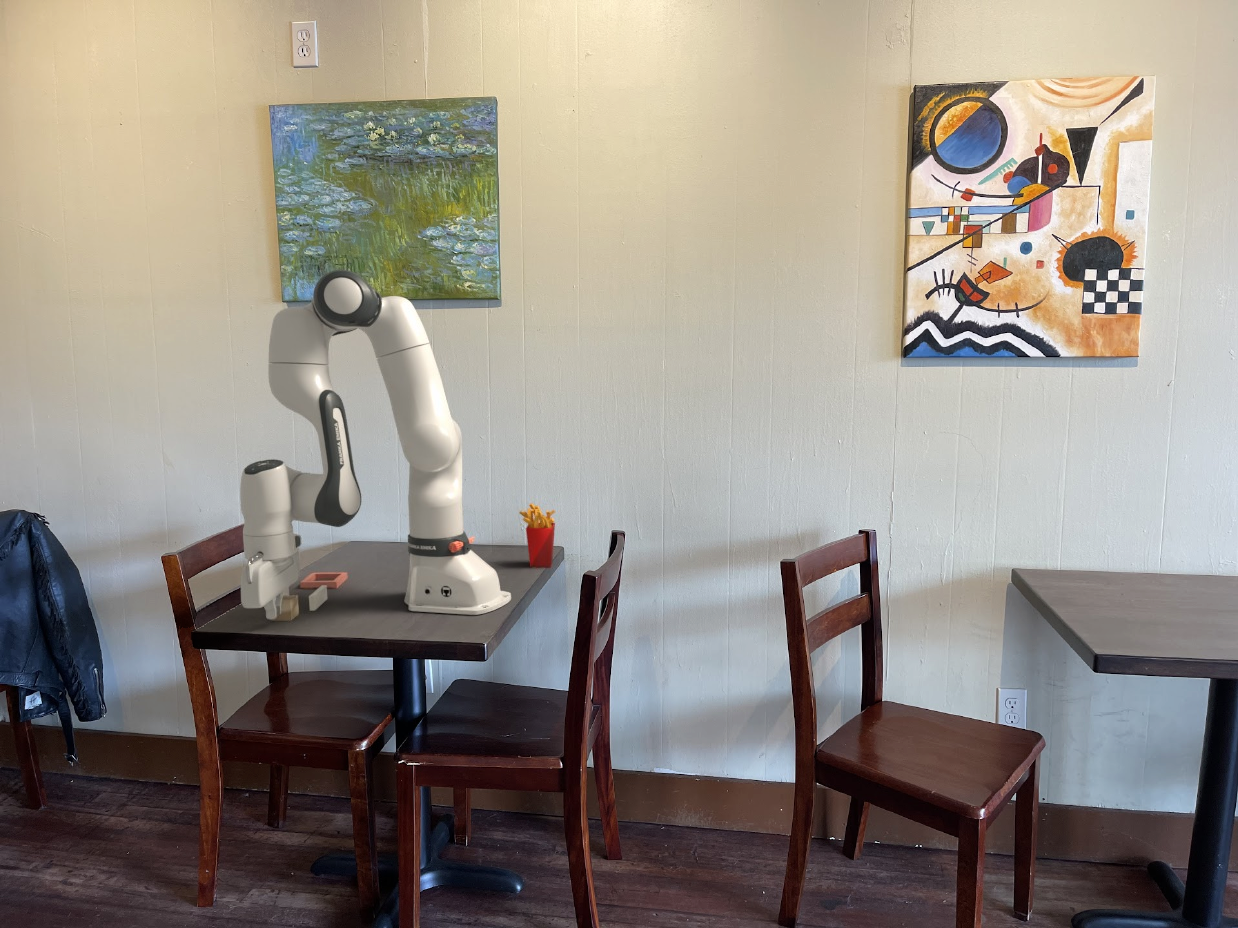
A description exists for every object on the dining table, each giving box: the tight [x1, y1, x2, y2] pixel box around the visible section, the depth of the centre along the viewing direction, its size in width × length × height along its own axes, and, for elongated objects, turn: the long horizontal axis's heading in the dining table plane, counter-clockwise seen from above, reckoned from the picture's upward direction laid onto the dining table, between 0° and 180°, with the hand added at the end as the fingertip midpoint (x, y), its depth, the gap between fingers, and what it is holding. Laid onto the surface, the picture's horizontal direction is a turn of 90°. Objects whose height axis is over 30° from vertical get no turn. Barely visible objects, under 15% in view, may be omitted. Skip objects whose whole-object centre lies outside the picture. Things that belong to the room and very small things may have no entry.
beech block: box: [270, 594, 300, 622], centre depth 169 cm, size 4×4×4 cm
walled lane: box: [283, 585, 328, 612], centre depth 177 cm, size 8×9×3 cm
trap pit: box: [299, 571, 348, 590], centre depth 193 cm, size 8×8×2 cm
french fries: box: [519, 503, 556, 569], centre depth 206 cm, size 9×8×15 cm
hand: (274, 616), depth 163 cm, fingers closed
